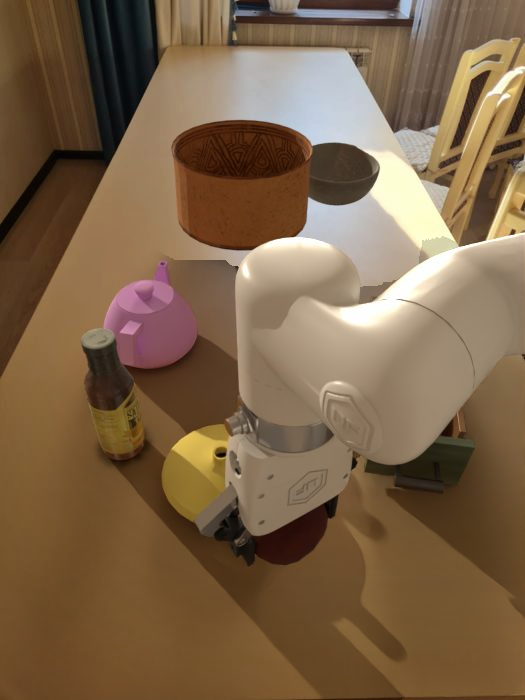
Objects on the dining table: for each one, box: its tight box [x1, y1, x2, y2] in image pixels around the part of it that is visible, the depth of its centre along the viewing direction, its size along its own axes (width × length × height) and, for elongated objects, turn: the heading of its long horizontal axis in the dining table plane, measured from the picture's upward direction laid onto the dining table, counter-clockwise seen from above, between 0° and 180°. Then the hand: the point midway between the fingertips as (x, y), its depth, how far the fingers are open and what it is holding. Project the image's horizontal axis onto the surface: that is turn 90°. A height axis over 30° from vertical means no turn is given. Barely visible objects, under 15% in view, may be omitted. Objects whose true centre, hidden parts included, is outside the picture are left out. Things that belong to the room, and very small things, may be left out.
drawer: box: [363, 406, 476, 495], centre depth 73 cm, size 18×12×8 cm
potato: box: [239, 503, 329, 567], centre depth 50 cm, size 7×8×6 cm
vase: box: [161, 423, 240, 524], centre depth 70 cm, size 16×16×7 cm
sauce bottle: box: [80, 327, 146, 461], centre depth 70 cm, size 6×6×20 cm
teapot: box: [103, 260, 199, 370], centre depth 89 cm, size 22×16×12 cm
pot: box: [170, 119, 313, 252], centre depth 113 cm, size 28×28×20 cm
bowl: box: [308, 141, 381, 207], centre depth 129 cm, size 20×20×10 cm
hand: (284, 528), depth 51 cm, fingers closed on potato, 8 cm apart
